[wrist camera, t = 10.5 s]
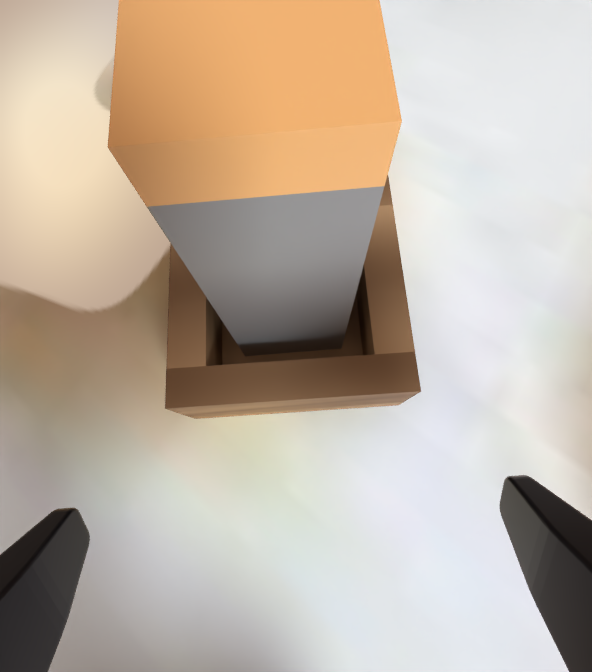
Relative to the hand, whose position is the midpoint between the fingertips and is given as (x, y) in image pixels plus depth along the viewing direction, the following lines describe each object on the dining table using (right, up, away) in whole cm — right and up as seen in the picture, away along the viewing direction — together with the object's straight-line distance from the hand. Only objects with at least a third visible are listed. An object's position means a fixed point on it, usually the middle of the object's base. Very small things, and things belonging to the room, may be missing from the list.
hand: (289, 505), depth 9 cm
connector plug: (0, +5, +11) cm, 12 cm away
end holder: (0, +5, +12) cm, 12 cm away
